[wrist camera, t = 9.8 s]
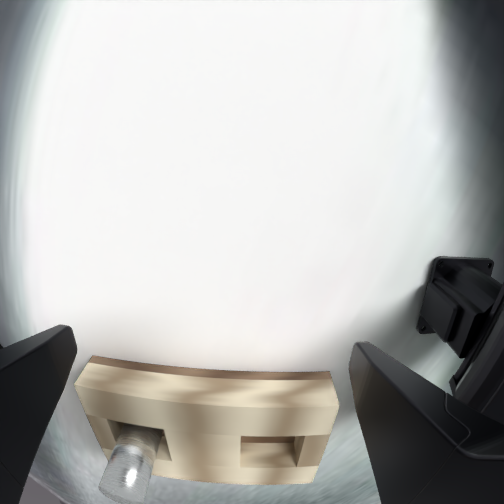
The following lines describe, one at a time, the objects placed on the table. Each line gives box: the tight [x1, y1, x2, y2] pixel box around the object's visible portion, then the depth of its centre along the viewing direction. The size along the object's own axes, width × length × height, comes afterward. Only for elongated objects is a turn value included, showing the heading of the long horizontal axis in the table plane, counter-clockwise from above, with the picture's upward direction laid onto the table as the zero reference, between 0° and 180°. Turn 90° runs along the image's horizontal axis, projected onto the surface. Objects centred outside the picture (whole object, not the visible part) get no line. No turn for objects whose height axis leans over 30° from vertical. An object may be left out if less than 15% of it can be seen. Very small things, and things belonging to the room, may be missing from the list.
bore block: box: [74, 356, 340, 485], centre depth 24 cm, size 20×12×4 cm, turn 88°
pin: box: [99, 423, 164, 504], centre depth 20 cm, size 4×4×9 cm
